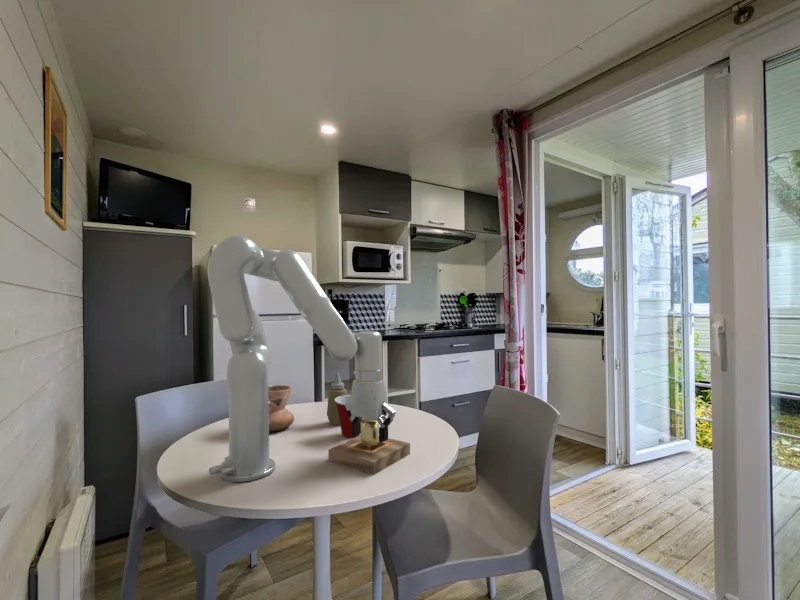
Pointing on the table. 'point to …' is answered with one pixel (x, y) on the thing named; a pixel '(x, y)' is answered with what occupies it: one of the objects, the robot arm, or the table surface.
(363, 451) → the walnut plate
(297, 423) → the table surface
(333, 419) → the squeeze bottle
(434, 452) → the table surface
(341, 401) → the plastic cup
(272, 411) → the ceramic jug
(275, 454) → the table surface
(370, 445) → the brass peg
